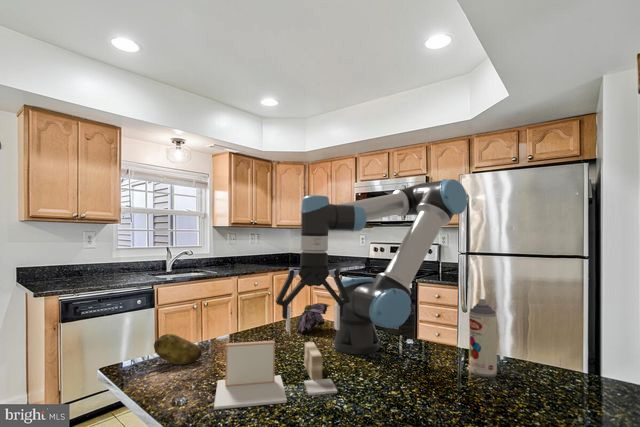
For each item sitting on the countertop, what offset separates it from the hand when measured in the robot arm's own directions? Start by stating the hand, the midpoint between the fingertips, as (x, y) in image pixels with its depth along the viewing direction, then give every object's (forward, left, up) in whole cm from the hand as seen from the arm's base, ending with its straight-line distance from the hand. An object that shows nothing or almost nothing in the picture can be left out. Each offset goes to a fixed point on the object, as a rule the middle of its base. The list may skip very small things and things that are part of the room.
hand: (312, 330), depth 98 cm
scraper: (0, +2, -12) cm, 12 cm away
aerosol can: (-47, +8, -12) cm, 49 cm away
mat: (+17, +7, -12) cm, 22 cm away
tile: (+17, +4, -11) cm, 21 cm away
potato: (+37, -16, -12) cm, 42 cm away
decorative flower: (-9, -41, -12) cm, 44 cm away
